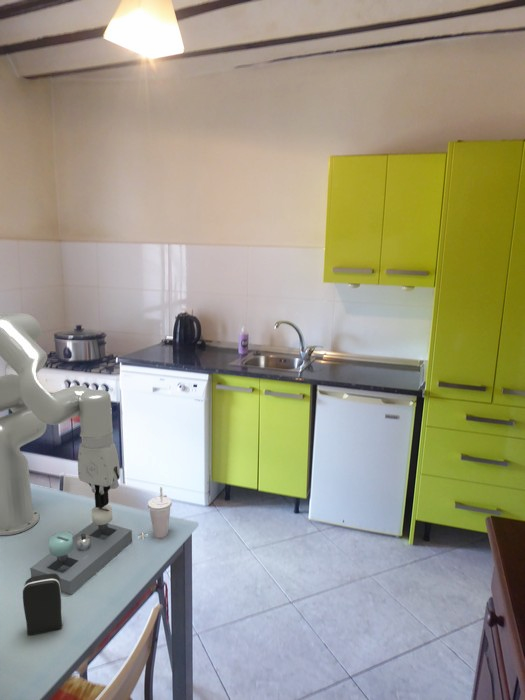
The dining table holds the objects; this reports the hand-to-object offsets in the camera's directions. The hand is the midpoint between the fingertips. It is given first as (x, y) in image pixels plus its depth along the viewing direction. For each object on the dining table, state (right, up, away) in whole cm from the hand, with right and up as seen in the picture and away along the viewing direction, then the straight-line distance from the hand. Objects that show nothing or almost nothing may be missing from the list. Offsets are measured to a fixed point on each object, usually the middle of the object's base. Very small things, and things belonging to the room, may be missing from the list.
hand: (102, 505), depth 123 cm
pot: (-3, -9, -5) cm, 11 cm away
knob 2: (0, -6, +1) cm, 7 cm away
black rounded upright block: (-3, -17, -25) cm, 30 cm away
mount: (-3, -12, -4) cm, 13 cm away
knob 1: (-6, -9, -11) cm, 15 cm away
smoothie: (+14, -11, +7) cm, 19 cm away
